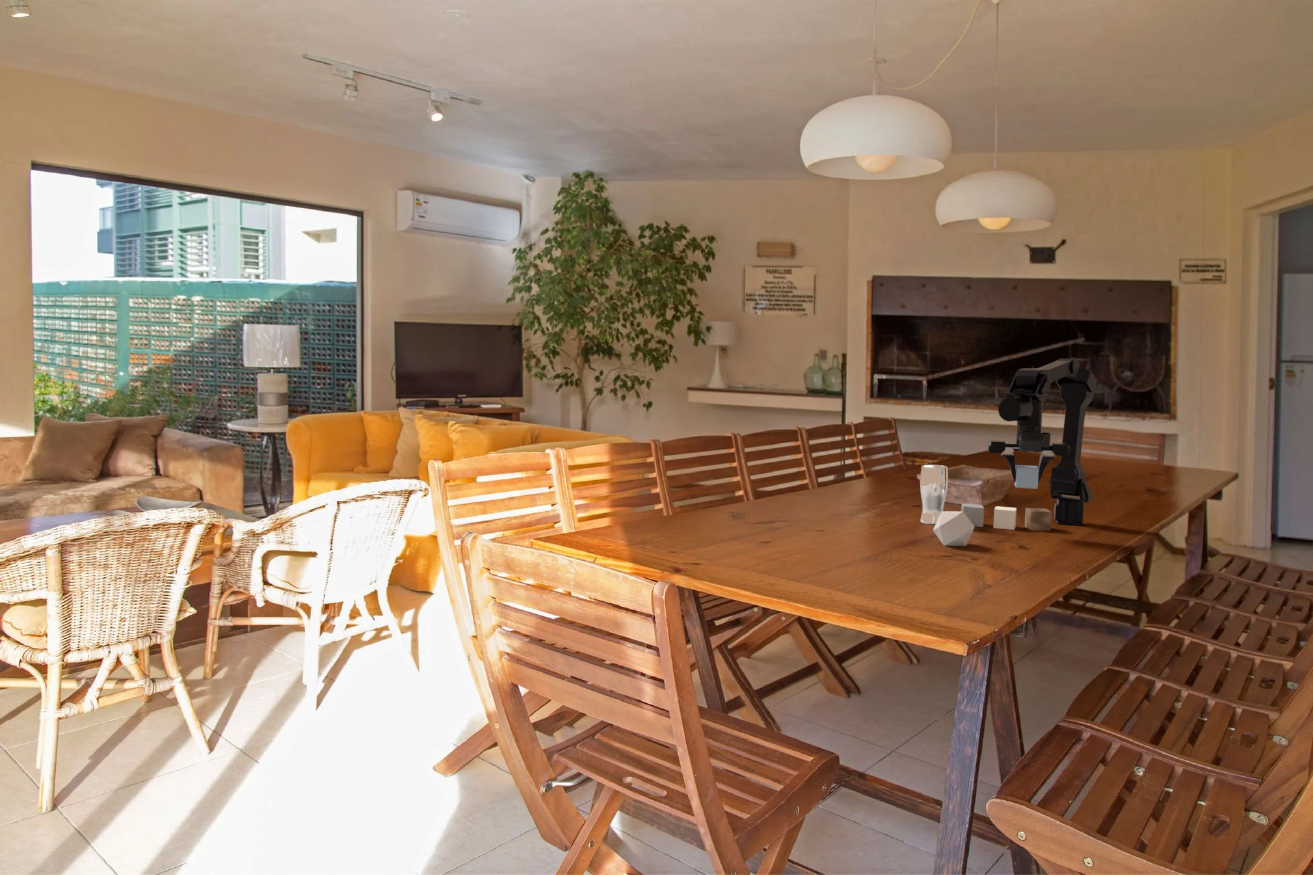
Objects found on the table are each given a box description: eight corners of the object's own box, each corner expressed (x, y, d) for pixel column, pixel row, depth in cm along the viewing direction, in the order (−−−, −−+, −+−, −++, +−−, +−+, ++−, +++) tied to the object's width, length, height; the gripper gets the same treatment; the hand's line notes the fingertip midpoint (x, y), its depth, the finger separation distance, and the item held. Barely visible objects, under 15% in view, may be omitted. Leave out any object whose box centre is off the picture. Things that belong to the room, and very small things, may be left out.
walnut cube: (1044, 527, 246) (1045, 508, 246) (1050, 531, 241) (1051, 511, 241) (1024, 526, 247) (1025, 507, 246) (1029, 530, 242) (1030, 511, 241)
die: (966, 553, 217) (985, 517, 219) (933, 533, 218) (952, 498, 220) (954, 558, 224) (973, 524, 227) (922, 538, 226) (941, 505, 228)
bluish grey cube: (1035, 485, 237) (1036, 466, 237) (1037, 488, 232) (1038, 468, 232) (1014, 484, 239) (1015, 465, 238) (1015, 487, 234) (1016, 467, 233)
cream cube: (1015, 526, 247) (1016, 507, 246) (1013, 530, 242) (1014, 510, 242) (995, 525, 249) (996, 506, 248) (993, 528, 244) (994, 509, 244)
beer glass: (949, 525, 247) (951, 468, 246) (922, 524, 247) (924, 467, 246) (941, 520, 254) (944, 464, 253) (915, 519, 254) (917, 464, 253)
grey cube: (980, 523, 251) (981, 504, 250) (983, 527, 246) (984, 508, 245) (960, 522, 252) (961, 504, 251) (962, 525, 247) (963, 507, 246)
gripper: (990, 420, 229) (987, 484, 230) (1074, 423, 224) (1070, 489, 225) (988, 417, 240) (985, 478, 241) (1068, 420, 234) (1065, 482, 236)
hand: (1026, 482), depth 235 cm, fingers closed on bluish grey cube, 5 cm apart
